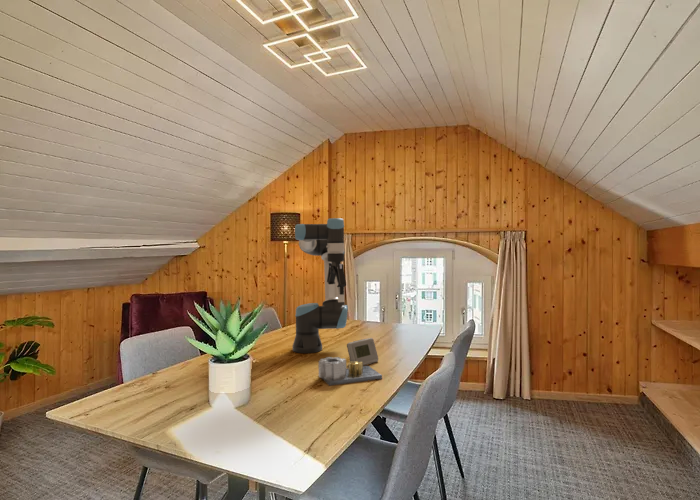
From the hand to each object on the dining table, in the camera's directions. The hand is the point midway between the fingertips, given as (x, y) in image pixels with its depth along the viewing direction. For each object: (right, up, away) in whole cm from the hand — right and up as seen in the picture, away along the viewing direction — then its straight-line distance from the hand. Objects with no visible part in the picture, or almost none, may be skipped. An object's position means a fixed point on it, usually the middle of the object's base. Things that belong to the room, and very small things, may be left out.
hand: (336, 300), depth 192 cm
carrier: (+6, -29, -19) cm, 35 cm away
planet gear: (-1, -28, -21) cm, 35 cm away
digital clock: (+12, -29, 0) cm, 31 cm away
